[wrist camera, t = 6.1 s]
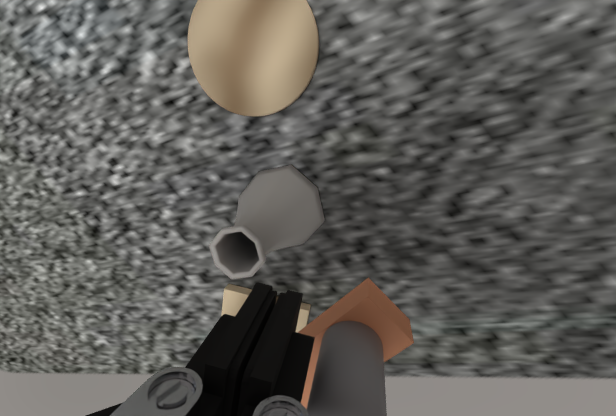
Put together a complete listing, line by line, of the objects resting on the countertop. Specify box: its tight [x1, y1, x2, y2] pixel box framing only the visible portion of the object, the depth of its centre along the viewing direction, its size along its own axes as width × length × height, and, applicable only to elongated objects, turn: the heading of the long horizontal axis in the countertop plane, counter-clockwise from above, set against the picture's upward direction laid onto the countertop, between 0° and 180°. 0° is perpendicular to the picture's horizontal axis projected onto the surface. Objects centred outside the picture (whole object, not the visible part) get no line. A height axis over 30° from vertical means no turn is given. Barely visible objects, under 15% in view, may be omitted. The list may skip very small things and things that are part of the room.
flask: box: [209, 165, 325, 279], centre depth 23 cm, size 7×7×10 cm
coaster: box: [188, 0, 319, 116], centre depth 24 cm, size 10×10×1 cm
